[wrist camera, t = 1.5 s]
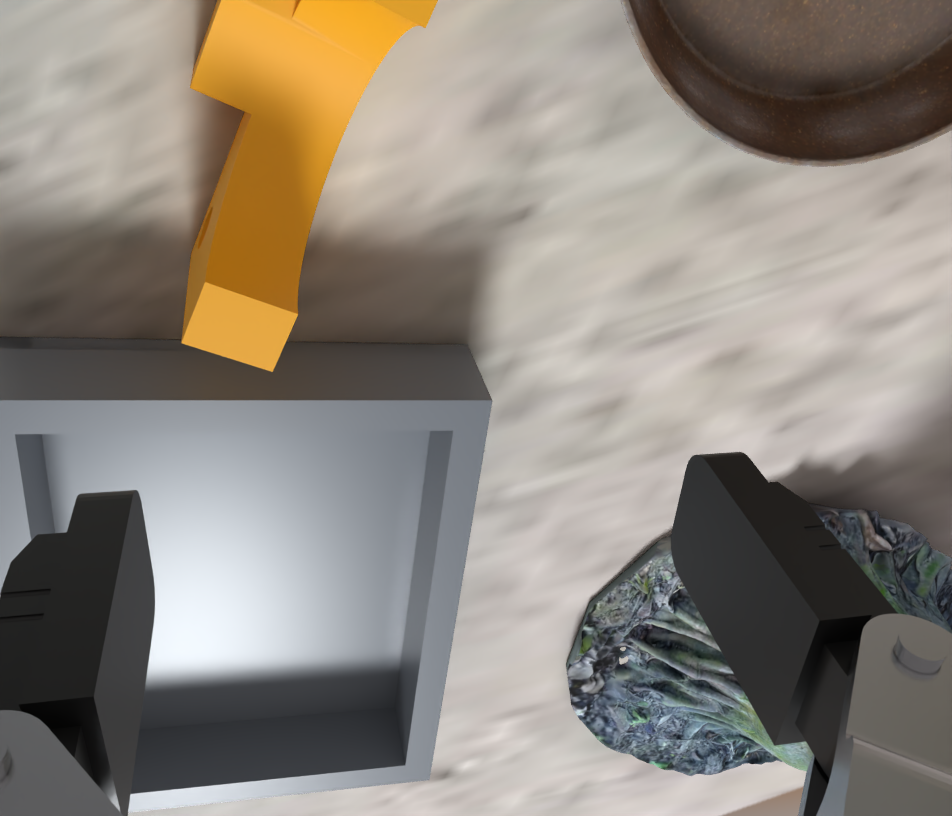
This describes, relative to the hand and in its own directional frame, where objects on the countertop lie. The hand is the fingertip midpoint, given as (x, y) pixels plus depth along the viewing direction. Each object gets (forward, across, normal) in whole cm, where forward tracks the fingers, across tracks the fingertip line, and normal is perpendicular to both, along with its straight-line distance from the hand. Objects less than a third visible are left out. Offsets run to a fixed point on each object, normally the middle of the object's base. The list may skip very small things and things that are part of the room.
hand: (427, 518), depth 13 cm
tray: (+19, +4, +17) cm, 25 cm away
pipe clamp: (+19, +2, -2) cm, 19 cm away
